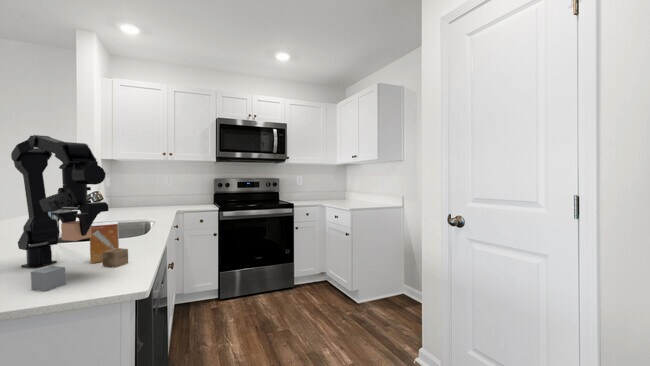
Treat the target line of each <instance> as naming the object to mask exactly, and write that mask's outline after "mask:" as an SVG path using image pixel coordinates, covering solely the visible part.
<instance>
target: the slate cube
mask: <svg viewBox="0 0 650 366" xmlns="http://www.w3.org/2000/svg"><path fill="white" fill-rule="evenodd" d="M66 276H67V275H66V267H65V266H58V265H48V266H46V267H44V268H43V267H42V268H38V269H36V270H31V271H30V282H31V283H30V284H31V285H30V287H31V290H32V291H37V290H39V292H45V293H46V292H49V291H51V290H54V289H57V287H58V288H60V287H63V286H66V285H67V277H66Z"/></svg>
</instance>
